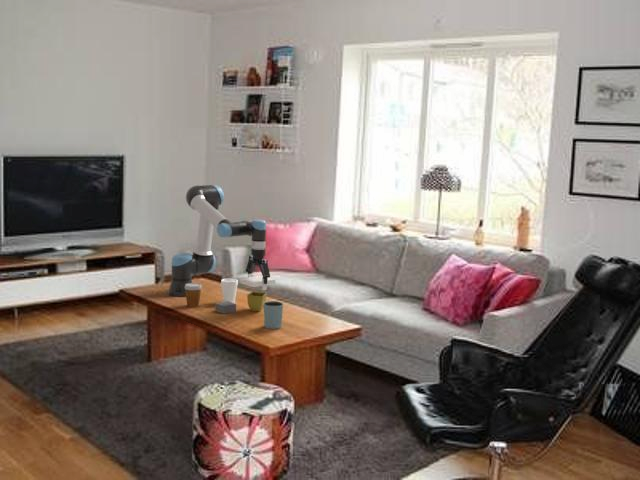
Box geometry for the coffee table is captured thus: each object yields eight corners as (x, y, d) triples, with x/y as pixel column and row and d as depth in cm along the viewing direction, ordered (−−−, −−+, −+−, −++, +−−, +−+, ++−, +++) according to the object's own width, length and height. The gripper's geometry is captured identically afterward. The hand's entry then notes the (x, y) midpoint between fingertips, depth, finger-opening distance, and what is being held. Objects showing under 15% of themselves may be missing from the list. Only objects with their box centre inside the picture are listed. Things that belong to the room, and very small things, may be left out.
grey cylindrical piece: (279, 330, 361) (280, 306, 359) (260, 328, 363) (260, 304, 361) (284, 324, 371) (285, 301, 369) (265, 323, 373) (266, 300, 371)
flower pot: (261, 312, 392) (262, 296, 391) (246, 311, 394) (246, 295, 393) (266, 308, 401) (266, 292, 399) (251, 307, 402) (251, 291, 401)
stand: (215, 310, 393) (215, 303, 392) (227, 308, 398) (227, 301, 397) (223, 313, 387) (223, 306, 386) (235, 311, 392) (236, 304, 392)
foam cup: (226, 305, 404) (227, 282, 402) (217, 302, 411) (217, 279, 409) (240, 303, 410) (241, 280, 408) (231, 299, 417) (231, 277, 415)
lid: (239, 282, 395) (239, 278, 394) (262, 280, 404) (262, 275, 404) (252, 287, 386) (252, 282, 385) (275, 284, 395) (275, 279, 395)
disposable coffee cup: (182, 304, 402) (182, 283, 400) (199, 303, 406) (199, 282, 404) (186, 308, 394) (186, 287, 392) (203, 307, 397) (204, 286, 395)
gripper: (239, 245, 399) (239, 284, 402) (266, 252, 380) (265, 292, 384) (251, 244, 403) (250, 282, 407) (277, 251, 385) (276, 291, 389)
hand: (257, 287), depth 395 cm, fingers closed on lid, 12 cm apart
